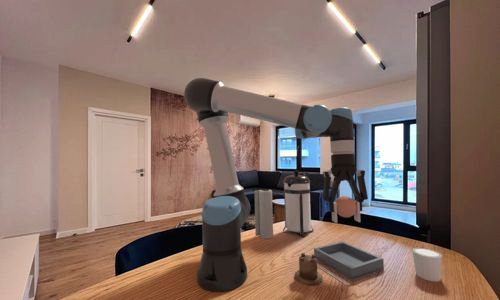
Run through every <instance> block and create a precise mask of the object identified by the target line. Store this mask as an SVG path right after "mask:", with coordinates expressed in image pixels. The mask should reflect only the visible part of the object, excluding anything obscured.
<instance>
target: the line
mask: <svg viewBox="0 0 500 300" xmlns="http://www.w3.org/2000/svg"><path fill="white" fill-rule="evenodd" d="M317 268H318V269H320V270H322V271H324V272H325V273H327V274H328V275H329V276H331V277H333V278H335V280H338V281H339V282H341V283H342V284H344V285H345V286H350V285H351V283H349V282H348V281H346V280H345V279H343V278H342V277H340V276H338V275H337V274H335V273H333V272H332V271H330V270H328V269H327V268H325V267H324V266H323V265H321V264H319V263H317Z"/></svg>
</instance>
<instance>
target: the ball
mask: <svg viewBox="0 0 500 300" xmlns="http://www.w3.org/2000/svg"><path fill="white" fill-rule="evenodd" d="M355 201H356V200H354V199H353V198H351V197H349V196H346V195H343V196H342V195H341V196H339V197H338V198H335V200H334V202H336V204H337V215H339V216H340V217H342V218H351V217H352V216H353V217H354V214H355V212H356V210H357V206H356V203H355Z"/></svg>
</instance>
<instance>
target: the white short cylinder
mask: <svg viewBox="0 0 500 300" xmlns="http://www.w3.org/2000/svg"><path fill="white" fill-rule="evenodd" d="M412 257H413V264H414V269H415V274H416V276H417V277H418V278H420V279H422V280H426V281H429V282H441V280H442V278H441V277H442V276H441V275H442V264H443V263H442V260H443V255H442V253H440V252H438V251H436V250H434V249H430V248H429V249H428V248H425V247H424V248H423V247H414V248H412Z"/></svg>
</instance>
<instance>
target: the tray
mask: <svg viewBox="0 0 500 300" xmlns="http://www.w3.org/2000/svg"><path fill="white" fill-rule="evenodd" d="M313 254H314V255H316V259H317V262H319V263H321V264H322V265H324V266H326V267H328V268H330V269H331V270H333V271H334V272H336V273H338V274H339V275H341V276H343V277H345V278H346V279H348V280H350V281H351V282H354V281H356V280H359V279H361V278H365V277H368V276H370V275H371V276H372V275H374V274H376V273H379V272H382V271H384V270H385V262H384V258H383V257H381V256H378V255H376V254H374V253H371V252H369V251H367V250H364V249H362V248H360V247H357V246H354V245H352V244H349V243H347V242H345V241H338V242H334V243H330V244H327V245H322V246H318V247H314V248H313Z"/></svg>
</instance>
